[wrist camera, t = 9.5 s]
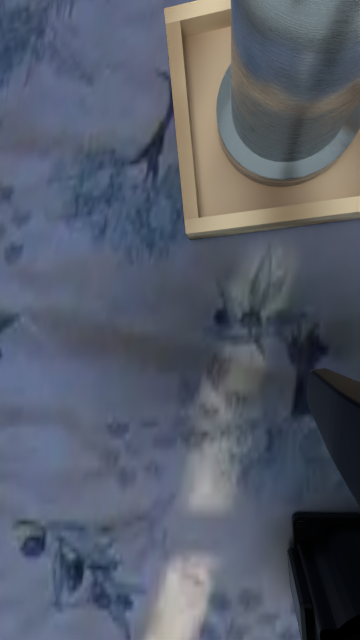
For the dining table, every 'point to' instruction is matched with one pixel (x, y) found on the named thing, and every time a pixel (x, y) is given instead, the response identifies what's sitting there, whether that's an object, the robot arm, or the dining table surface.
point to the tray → (206, 151)
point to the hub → (290, 88)
